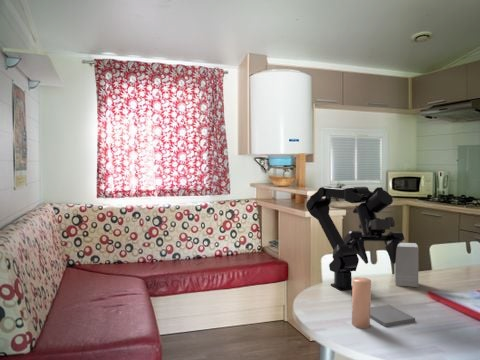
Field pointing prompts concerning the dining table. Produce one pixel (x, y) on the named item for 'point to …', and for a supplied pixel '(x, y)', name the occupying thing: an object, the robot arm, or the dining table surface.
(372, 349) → the dining table surface
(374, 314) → the mat
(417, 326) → the dining table surface
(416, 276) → the skincare box
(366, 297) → the terracotta cylinder
